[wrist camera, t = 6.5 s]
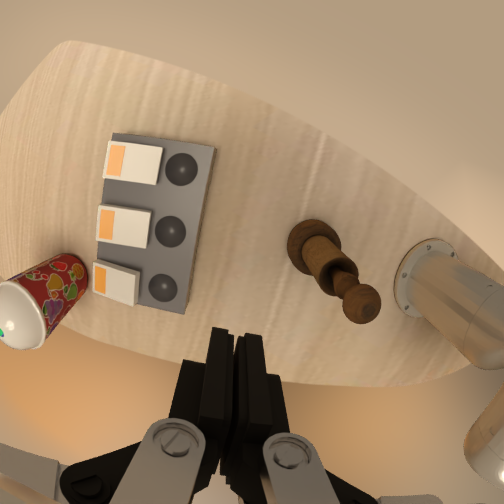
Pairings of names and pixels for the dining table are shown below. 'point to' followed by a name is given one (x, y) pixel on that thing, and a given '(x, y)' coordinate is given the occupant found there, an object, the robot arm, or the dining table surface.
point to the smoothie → (39, 300)
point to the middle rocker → (123, 225)
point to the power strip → (164, 221)
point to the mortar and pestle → (332, 269)
